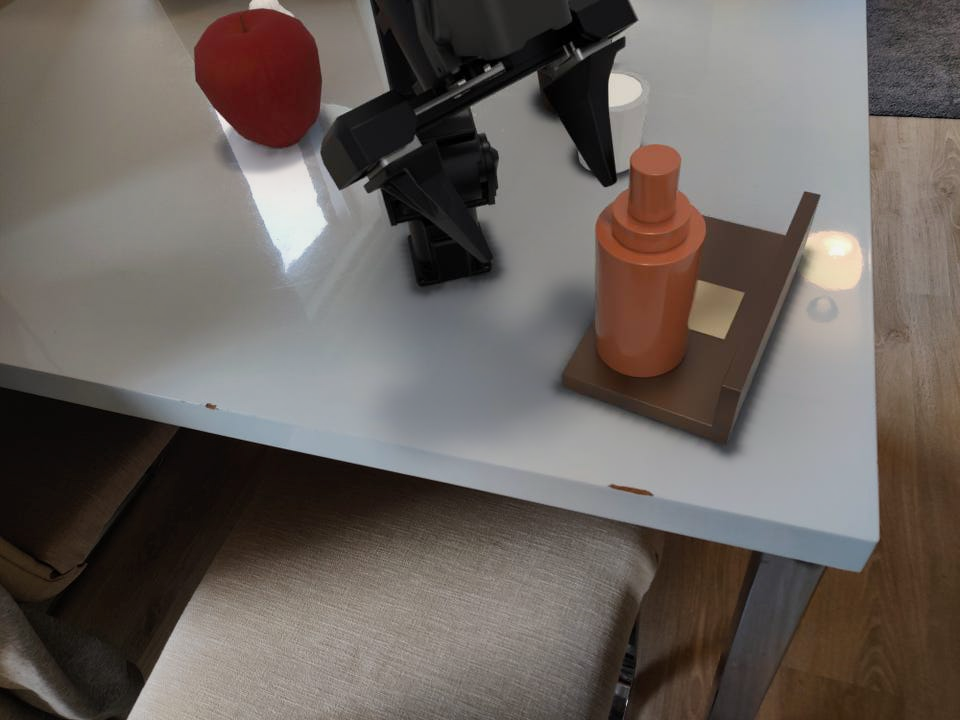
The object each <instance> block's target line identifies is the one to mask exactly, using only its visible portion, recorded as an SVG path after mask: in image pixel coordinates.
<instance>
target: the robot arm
mask: <svg viewBox="0 0 960 720" xmlns="http://www.w3.org/2000/svg"><path fill="white" fill-rule="evenodd" d="M369 4H370V8H371V12H372V17H373V21H374V26H375V29H376V34H377V38H378V43H379V47H380V52H381V57H382V62H383V66H384V70H385V74H386V78H387V84H388V87H389V90H387V91H386V92H384V93H382V94H380V95H378V96H376V97H374V98H372V99H369V101H366V102H364V103H362V104H360V105H358V106H356V107H355V108H352V109H350V110H348V111H347V112H345V113H342V114H340V115H339V116H337V117H336V118H335V120H334V121H333V123H332V124H331V125H330V127H329V129H328V130H327V132H326V134H325V135H324V136H323V138H322V141H321V145H320V150H319V154H320V157H321V161H322V164H323V166H324V167H325V169H326V171H327V173H328V174H329V176H330V178H331V179H332V181H333V183H334V184H335V186H336V188H337V190H338V191H339V192H340V191H342V190H344V189H346V188H349V187H351V186H352V185H354V184H355V183H358V182H359V181H361V180H363V179H366V178H367V179H368V181H367V182H366V183H364V185H363V186H362V187H363V189H364V190H365V192H366V193H367V194H371V193H373V192H375V191H377V190H378V189H380V191H381V196H382V200H383V203H384V207H385V210H386V214H387V216H388V220H389V223H390V226H391V227H396V226H398V225H399V224H404V223H407V224H408V228H409V229H408V230H409V232H410V234H408V235H407V242H408V246H409V247H408V248H409V253H410V257H411V258H410V259H411V262H412V266H413V272H414V277H415V282H416V285H417V286H418V287H420V288H424V287H428V286H429V287H430V286H433V285H438V284H443V283H448V282H451V281H456V280H461V279H465V278H470V277H475V276H479V275H483V274H488V273H491V272H492V271H493V270H494V268H493V267H494V266H493V262H492V260H494V254H493V252H492V250H491V247H490V246H489V243H488V241H487V239H486V237H485V235H484V233H483V229H482V226H481V222H480V221H479V219H478V211H477V208H479V207H484V206H493V205H496V197H497V190H499V180H498V167H499V162H500V161H499V160H500V154H499V151H498V150H497V149H496V148H494V147H493V146H492V145H491V142H490V141H489V139H488V137H487V134H486V132H479V133H478V130H477V126H476V122H475V120H474V116H473V112H472V108H471V107H474V105H477V104H478V103H480V102H482V101H484V100H486V99H488V98H490V97H491V96H493V95H495V94H497V93H498V92H500V91H503V90H504V89H506V88H508V87H510V86H512V85H513V84H515V83H517V82H520V81H521V80H523V79H525V78H526V77H528V76H529V77H530V75H532V74H535V73H537V71H540V72H543V73H545V74H547V75H550V76H551V77H552V79H553V81H552V82H551V83H549V84H548V85H547V86H545V87H544V88H542V90H543V92H544V94H545V96H546V97H547V99H548V101H549V102H550V104H551V106H552V107H553V109H554V111H555V112H556V113H555V114H556V116H557V117H558V119H559V120H560V122H561V124H562V126H563V127H564V129H565V131H566V132H567V134H568V136H569V138H570V139H571V141H572V142H573V144H574V146H575V147H576V149H577V152H578V151H579V152H580V154H581V156H582V157H583V159H584V161H585V162H586V164H587V166H588V167H589V169H590V170H591V171H590V170H589V171H590V172H591V173H592V174H593V176H594V177H595V178H596V179H597V180H598V182H599V183H600V185H601V186H602V187H603V188H605V189H606V188H609V187H612V186H613V185H616V184H617V183H618V176H617V175H618V173H616V166H615V157H614V149H613V140H612V132H611V123H610V114H609V77H610V74H611V70H612V69H613V67H614V63H615V60H616V56H617V53H619V52H620V51H622V50H623V49H625V48H626V45H627V38H626V35H623V36H622V37H619V38H618V39H615V38H616V37H618V36H619V35H620V34H622V33H623V32H624V31H626V30H628V29H629V28H630V27H632V26H634V24H636V23H638V22H639V18H638V15H637V13H636V10H635V9H634V7H633V4H632V3H631V0H369ZM613 39H615V40H614V41H613ZM610 40H612V43H611V41H610ZM488 68H490V69H489V70H487V71H486V69H488ZM463 81H465V82H463ZM461 82H463V83H461ZM459 83H461V84H460V85H459Z"/></svg>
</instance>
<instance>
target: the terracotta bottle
mask: <svg viewBox="0 0 960 720" xmlns="http://www.w3.org/2000/svg"><path fill="white" fill-rule="evenodd" d="M681 164H682V156H681V154H680V152H679V151H678V150H677V149H675V148H674V147H672V146H669V145H666V144H663V143H662V144H661V143H651V144H650V143H649V144H645V145H642V146H640V148H638V149H636V150H635V151H634V152H633V153H632V155H631V157H630V167H629V169H628V170H629V171H628V188H626V189H624V190H623V191H621V192H620V193H618V195H617V196H616V198H615V199H614V200H613V201H612V202H611V203H609V204H608V205H607V206H605V208H603V209H602V211H601V212H600V213H599V215H598V217H597V219H596V221H595V227H594V228H595V229H594V237H595V238H594V240H595V241H594V318H595V347H596V350H597V352H598V354H599V356H600V358H601V359H602V360H603V361H604V362H605V364H607V365H608V366H609V367H610V368H612V369H613V370H615V371H617V372H619V373H622V374H624V375H628V376H632V377H653V376H658V375H661V374H664V373H666V372H668V371H670V370H672V369H673V368H675V367H676V366H677V365H678V364H679V363H680V362H681V361H682V359H683V358H684V356H685V354H686V352H687V348H688V342H689V335H690V329H691V323H692V317H693V310H694V304H695V298H696V291H697V285H698V279H699V273H700V266H701V260H702V254H703V247H704V241H705V235H706V225H705V221H704V219H703V217H702V215H703V214H702V213H701V212H700V211H699V210H698V208H697V207H695V206H694V205H693V204H692V203H691V201H690V200H689V199H690V198H688V196H686V194H685V193H684V192H682V191H681V190H679V186H680V185H679V183H680V176H681V168H682V167H681V166H682V165H681Z"/></svg>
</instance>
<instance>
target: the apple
mask: <svg viewBox="0 0 960 720" xmlns="http://www.w3.org/2000/svg"><path fill="white" fill-rule="evenodd" d="M294 17H295V16H294ZM294 17H292V16H290V15H287V14H285V13H282V12H279V11H276V10H273V9H265V8H259V9H251V10H249V9H245V10H240V11H236V12H232V13H231V12H230V13H229V14H226V15H223V16H221V17H218V18H216V20H214V21H213V22H211V23H210V24H209V25H208V26H207V28H206V29H205V30H204V32H203V33H202V34H201V36H200V37H199V39H198V41H197V43H196V44H195V46H194V47H193V60H194V61H193V62H194V77H195V78H194V79H195V83H196V84H197V85H198V86H199V89H200V90H201V91H202V93H203V94H204V96H205V98H206V99H207V100H208V102H209V103H210V104H211V107H213V109H215V111H216V112H217V113H218V114H219V115H220V116H221V117H222V118H223V119H224V120H225V122H226V123H227V124H228V125H229V126H230V127H231V128H233V130H235V132H236V133H237V134H238V135H239V136H241V137H242V138H243V139H245V140H246V141H249V142H252V143H254V144H258V145H260V146H263V147H266V148H269V149H285V148H291V147H292V146H295V145H297V144H298V143H299V142H300V141H302V139H303V138H304V137H305V136H306V135H307V134H308V132H309V131H310V130H311V129H312V127H313V126H314V125H315V124H316V122H317V121H318V117H319V115H320V112H321V101H322V87H323V76H322V70H321V63H320V55H319V49H318V46H317V42H316V39H315V37H314V36H313V34H312V33H311V32H310V30H309V29H307V27H306V26H305V24H304V23H303V22H302V21H301V20H300V19H298V18H296V17H295V18H294Z"/></svg>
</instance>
